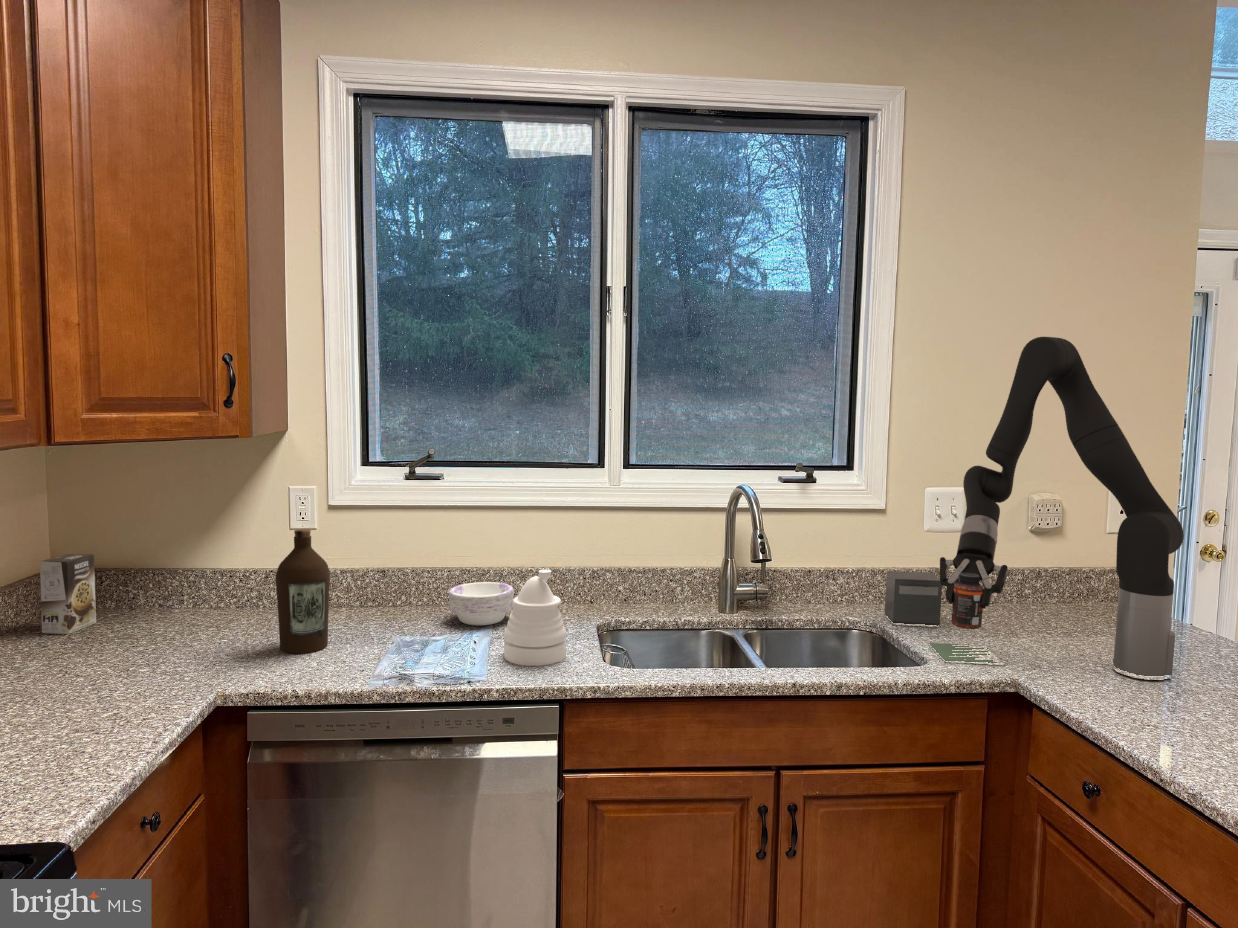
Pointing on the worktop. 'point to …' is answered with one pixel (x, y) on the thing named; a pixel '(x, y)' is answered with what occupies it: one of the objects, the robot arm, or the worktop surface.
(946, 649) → the sage mat
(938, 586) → the charcoal unit
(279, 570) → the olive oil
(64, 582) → the coffee box
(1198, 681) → the worktop surface
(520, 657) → the honey pot
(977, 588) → the supplement bottle
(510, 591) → the white and purple bowl
